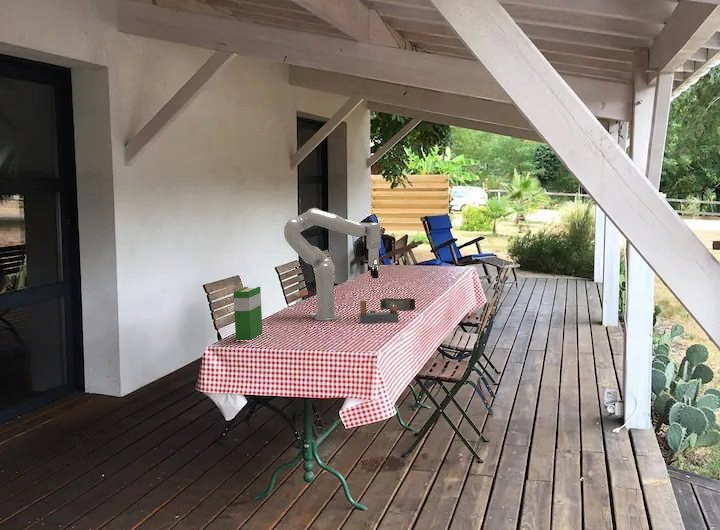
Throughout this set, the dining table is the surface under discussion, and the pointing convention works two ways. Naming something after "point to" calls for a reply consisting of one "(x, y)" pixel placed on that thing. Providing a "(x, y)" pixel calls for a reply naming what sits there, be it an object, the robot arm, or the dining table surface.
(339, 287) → the dining table surface
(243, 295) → the green cereal box
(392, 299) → the beverage carton
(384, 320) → the plane body
